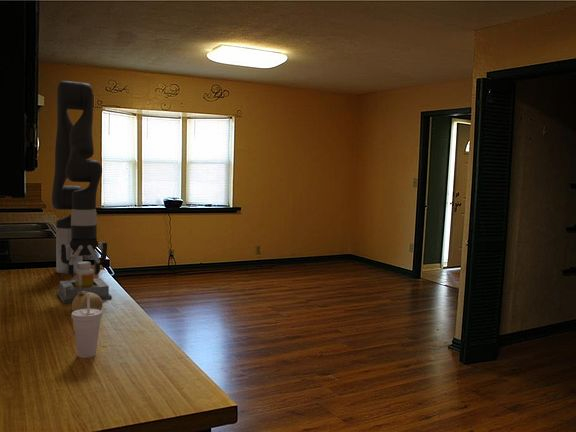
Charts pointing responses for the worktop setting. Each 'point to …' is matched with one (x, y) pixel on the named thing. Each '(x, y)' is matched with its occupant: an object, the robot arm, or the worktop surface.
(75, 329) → the smoothie
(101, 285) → the collar socket
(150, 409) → the worktop surface
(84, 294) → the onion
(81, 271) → the supplement bottle
